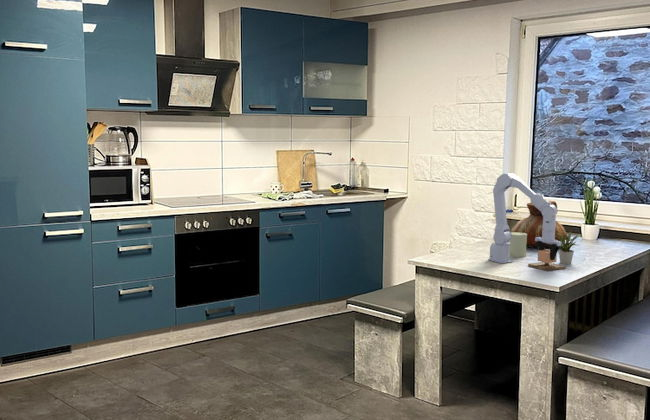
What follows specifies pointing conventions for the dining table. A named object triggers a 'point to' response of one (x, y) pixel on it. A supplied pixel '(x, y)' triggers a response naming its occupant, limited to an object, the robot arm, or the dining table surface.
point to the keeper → (546, 266)
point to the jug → (536, 226)
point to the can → (518, 244)
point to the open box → (545, 256)
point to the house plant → (566, 248)
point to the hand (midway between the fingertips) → (547, 258)
